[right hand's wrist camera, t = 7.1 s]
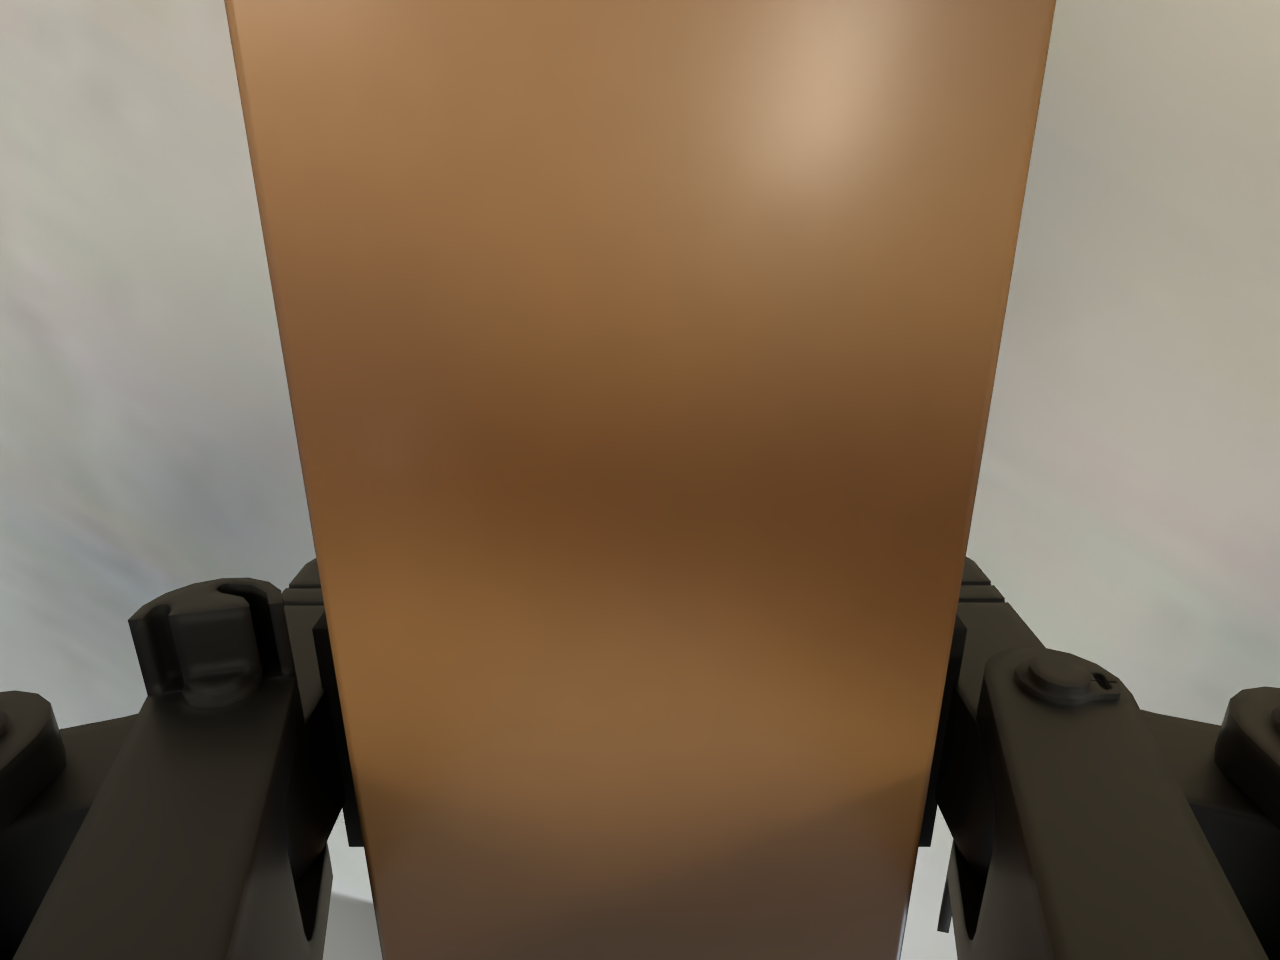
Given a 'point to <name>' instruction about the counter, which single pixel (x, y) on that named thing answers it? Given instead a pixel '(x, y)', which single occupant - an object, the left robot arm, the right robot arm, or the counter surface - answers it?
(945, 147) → the beam
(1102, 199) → the counter surface
